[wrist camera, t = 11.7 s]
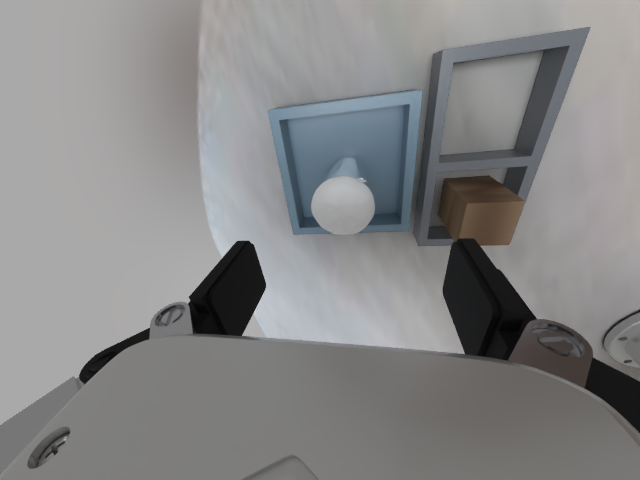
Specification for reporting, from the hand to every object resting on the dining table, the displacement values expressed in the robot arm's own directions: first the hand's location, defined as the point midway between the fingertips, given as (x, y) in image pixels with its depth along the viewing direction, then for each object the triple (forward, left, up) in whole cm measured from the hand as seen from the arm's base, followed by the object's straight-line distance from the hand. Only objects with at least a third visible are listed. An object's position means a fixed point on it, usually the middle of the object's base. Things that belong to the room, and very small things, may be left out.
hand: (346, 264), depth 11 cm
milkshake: (0, 0, -15) cm, 15 cm away
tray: (+1, 0, -15) cm, 15 cm away
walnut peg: (-11, +4, -15) cm, 19 cm away
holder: (-11, 0, -15) cm, 19 cm away
